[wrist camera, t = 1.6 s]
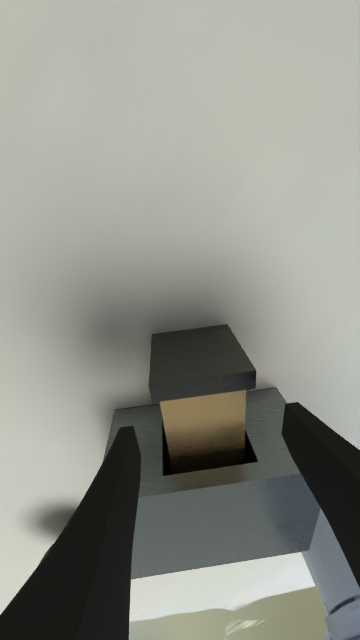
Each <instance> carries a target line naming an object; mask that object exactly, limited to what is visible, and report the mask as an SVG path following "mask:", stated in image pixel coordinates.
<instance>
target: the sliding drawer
mask: <svg viewBox="0 0 360 640" xmlns="http://www.w3.org/2000/svg"><path fill="white" fill-rule="evenodd" d="M255 387H256V369H255V368H254V366H253V365H252V363H251V361H250V360H249V358H248V357H247V355H246V353H245V352H244V350H243V349H242V347H241V345H240V344H239V342H238V341H237V339H236V337H235V336H234V334H233V333H232V331H231V329H230V328H229V326H228V325H220V326H212V327H204V328H196V329H189V330H181V331H173V332H165V333H158V334H152V345H151V360H150V375H149V388H150V393H151V398H152V403H154V402H160V407H161V413H162V418H163V423H164V429H165V434H166V440H167V445H168V450H169V456H170V461H171V467H172V472H173V475H174V474H181V473H187V472H194V471H201V470H208V469H214V468H221V467H228V466H235V465H241V464H244V450H245V409H246V390H249V389H255Z"/></svg>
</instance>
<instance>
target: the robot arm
mask: <svg viewBox="0 0 360 640" xmlns="http://www.w3.org/2000/svg"><path fill="white" fill-rule="evenodd" d="M281 434H282V436H283V439H284V441H285V444H286V446H287V448H288V450H289V453H290V455H291V457H292V459H293V460H294V462H295V464H296V466H297V468H298V469H299V471H300V473H301V475H302V476H303V478H304V480H305V482H306V483H307V485H308V487H309V489H310V490H311V492H312V494H313V495H314V497H315V499H316V501H317V502H318V504H319V506H320V508H321V509H320V513H319V516H318V520H317V523H316V527H315V531H314V534H313V538H312V541H311V545H310V549H309V551H303V552H302V555H303V557H304V559H305V562H306V564H307V567H308V569H309V571H310V574H311V576H312V578H313V581H314V583H315V585H316V588H317V590H318V592H319V595H320V597H321V600H322V602H323V604H324V607H325V609H326V612H327V614H328V616H327V617H324V621H325V624H326V626H327V629H328V631H329V632H327V633H326V634H325V635H324V640H360V450H359V449H357V448H356V447H355V446H353V445H352V444H350V443H349V442H348V441H346V440H345V439H344V438H343V437H341V436H340V435H339V434H337V433H336V432H335V431H333V430H332V429H331V428H330V427H328V426H327V425H326V424H324V423H323V422H322V421H321V420H319V419H318V418H317V417H316V416H314V415H313V414H312V413H311V412H309V411H308V410H307V409H306V408H304V407H303V406H302V405H301V404H299V403H298V402H295V403H288V404H285V409H284V417H283V425H282V433H281ZM140 479H141V453H140V449H139V445H138V441H137V437H136V434H135V430H134V426H126V427H120V428H119V429H118V431H117V434H116V436H115V438H114V441H113V443H112V445H111V447H110V449H109V451H108V453H107V455H106V457H105V459H104V461H103V463H102V465H101V467H100V469H99V471H98V473H97V475H96V476H95V478H94V480H93V482H92V484H91V485H90V487H89V489H88V491H87V492H86V494H85V496H84V498H83V499H82V501H81V503H80V504H79V506H78V508H77V509H76V511H75V512H74V514H73V516H72V517H71V519H70V520H69V522H68V523H67V525H66V526H65V528H64V530H63V531H62V533H61V534H60V536H59V537H58V538H57V540H56V541H55V543H54V544H53V546H52V547H51V549H50V550H49V551H48V553H47V554H46V556H45V557H44V559H43V560H42V561H41V563H40V564H39V565H38V567H37V568H36V570H35V571H34V572H33V574H32V575H31V576H30V577H29V579H28V580H27V581H26V583H25V584H24V585H23V587H22V588H21V589H20V590H19V592H18V593H17V594H16V596H15V597H14V598H13V599H12V601H11V602H10V603H9V605H8V606H7V607H6V609H5V610H4V611H3V612H2V614H1V615H0V640H129V639H128V638H129V610H130V585H131V564H132V549H133V539H134V530H135V522H136V514H137V505H138V497H139V488H140Z"/></svg>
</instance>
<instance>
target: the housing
mask: <svg viewBox="0 0 360 640" xmlns="http://www.w3.org/2000/svg"><path fill="white" fill-rule="evenodd" d="M285 404H287V402H286V401H285V400H284V398H283V397H282V395H281V394H280V392H279V391H278V389H277V388H271V389H264V390H257V391H249V392H246V409H245V450H244V464H241V465H235V466H228V467H221V468H214V469H208V470H201V471H194V472H187V473H181V474H174V475H173V472H172V467H171V461H170V456H169V450H168V445H167V440H166V434H165V429H164V423H163V418H162V413H161V407H160V404H155V405H148V406H141V407H134V408H127V409H119V410H115V412H114V416H113V421H112V425H111V429H110V434H109V438H108V442H107V447H106V451H105V455H104V459H105V457H106V455H107V453H108V451H109V449H110V447H111V445H112V443H113V441H114V438H115V436H116V434H117V431H118V429H119V428H120V427H126V426H134V430H135V434H136V437H137V441H138V445H139V449H140V453H141V479H140V488H139V497H138V505H137V514H136V522H135V530H134V539H133V549H132V564H131V579H136V578H142V577H148V576H154V575H161V574H167V573H173V572H179V571H185V570H192V569H198V568H204V567H210V566H216V565H223V564H229V563H235V562H241V561H247V560H253V559H260V558H266V557H272V556H278V555H284V554H291V553H297V552H303V551H309V549H310V545H311V541H312V538H313V534H314V531H315V527H316V523H317V520H318V516H319V513H320V509H321V508H320V506H319V504H318V502H317V501H316V499H315V497H314V495H313V494H312V492H311V490H310V489H309V487H308V485H307V483H306V482H305V480H304V478H303V476H302V475H301V473H300V471H299V469H298V468H297V466H296V464H295V462H294V460H293V459H292V457H291V455H290V453H289V450H288V448H287V446H286V444H285V441H284V439H283V436H282V434H281V433H282V425H283V417H284V409H285ZM103 461H104V460H103Z"/></svg>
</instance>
